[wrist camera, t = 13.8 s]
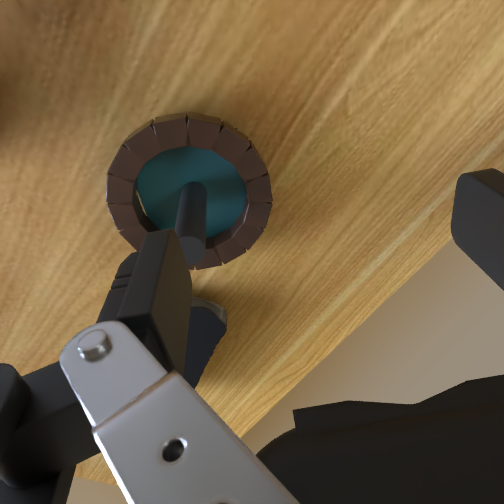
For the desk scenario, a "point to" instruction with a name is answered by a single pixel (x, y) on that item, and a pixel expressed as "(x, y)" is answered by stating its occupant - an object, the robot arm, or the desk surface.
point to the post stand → (191, 196)
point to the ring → (200, 136)
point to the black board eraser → (202, 337)
